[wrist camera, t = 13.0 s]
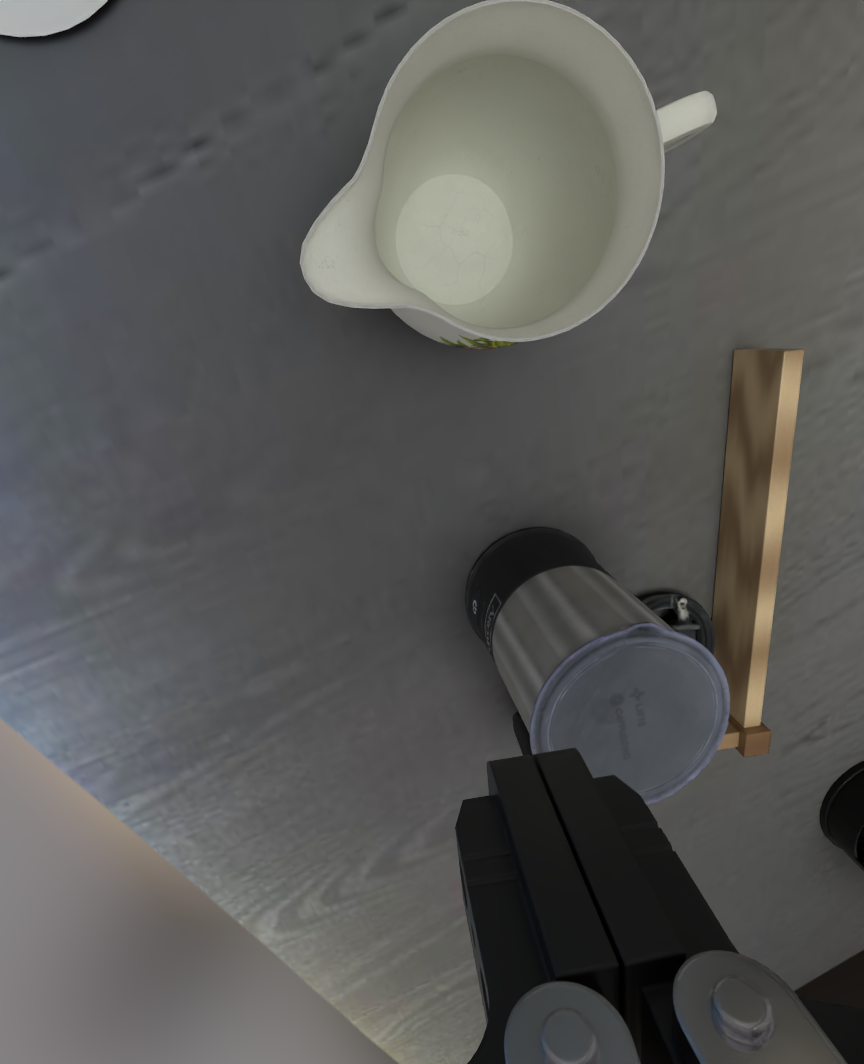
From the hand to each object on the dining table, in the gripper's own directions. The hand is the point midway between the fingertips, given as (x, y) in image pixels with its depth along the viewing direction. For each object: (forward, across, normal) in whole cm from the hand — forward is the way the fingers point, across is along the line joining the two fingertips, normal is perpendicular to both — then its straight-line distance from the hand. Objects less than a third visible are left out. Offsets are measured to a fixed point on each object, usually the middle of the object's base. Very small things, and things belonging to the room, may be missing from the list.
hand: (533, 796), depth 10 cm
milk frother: (+28, +11, -11) cm, 32 cm away
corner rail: (+28, +14, -8) cm, 32 cm away
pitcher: (+28, +5, +12) cm, 31 cm away
